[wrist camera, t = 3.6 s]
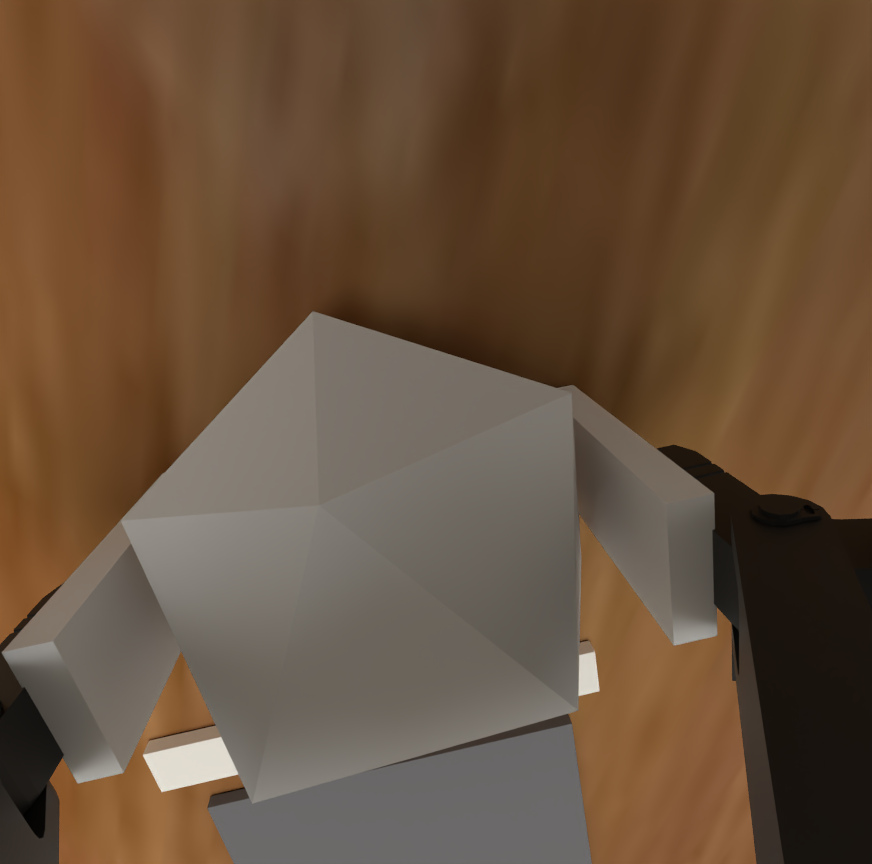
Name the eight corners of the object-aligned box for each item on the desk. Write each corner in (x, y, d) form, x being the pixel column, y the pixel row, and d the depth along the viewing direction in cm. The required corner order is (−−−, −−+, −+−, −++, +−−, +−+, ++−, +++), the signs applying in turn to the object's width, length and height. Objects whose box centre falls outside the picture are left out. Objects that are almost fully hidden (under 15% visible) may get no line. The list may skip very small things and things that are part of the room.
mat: (589, 640, 18) (594, 651, 17) (623, 928, 23) (628, 942, 22) (149, 740, 17) (142, 754, 17) (284, 1009, 22) (282, 1026, 22)
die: (272, 619, 17) (506, 920, 11) (-18, 499, 11) (153, 1074, 4) (439, 415, 18) (730, 580, 12) (274, 201, 12) (711, 320, 6)
